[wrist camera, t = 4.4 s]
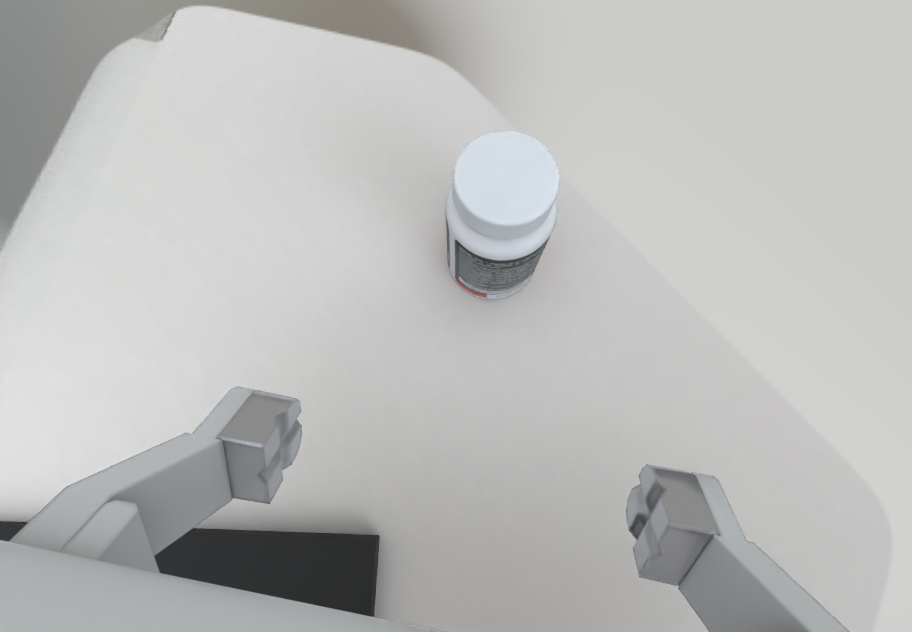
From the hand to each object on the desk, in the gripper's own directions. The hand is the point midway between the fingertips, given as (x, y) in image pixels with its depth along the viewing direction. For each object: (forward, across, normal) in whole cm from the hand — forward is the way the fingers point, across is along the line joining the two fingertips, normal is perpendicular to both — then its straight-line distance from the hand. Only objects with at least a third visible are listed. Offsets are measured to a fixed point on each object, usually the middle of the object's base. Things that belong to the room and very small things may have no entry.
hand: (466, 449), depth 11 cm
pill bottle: (+16, 0, +2) cm, 16 cm away
